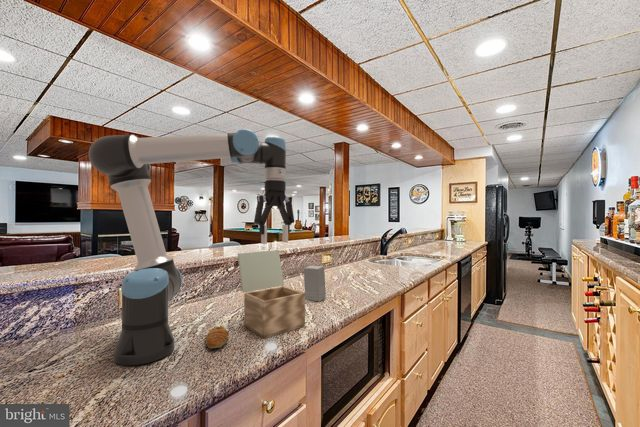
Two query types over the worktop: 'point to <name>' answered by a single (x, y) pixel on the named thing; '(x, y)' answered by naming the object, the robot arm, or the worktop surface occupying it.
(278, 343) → the worktop surface
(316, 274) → the skincare box
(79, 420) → the worktop surface
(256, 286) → the lid
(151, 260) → the robot arm
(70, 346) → the worktop surface
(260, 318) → the box
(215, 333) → the pastry
